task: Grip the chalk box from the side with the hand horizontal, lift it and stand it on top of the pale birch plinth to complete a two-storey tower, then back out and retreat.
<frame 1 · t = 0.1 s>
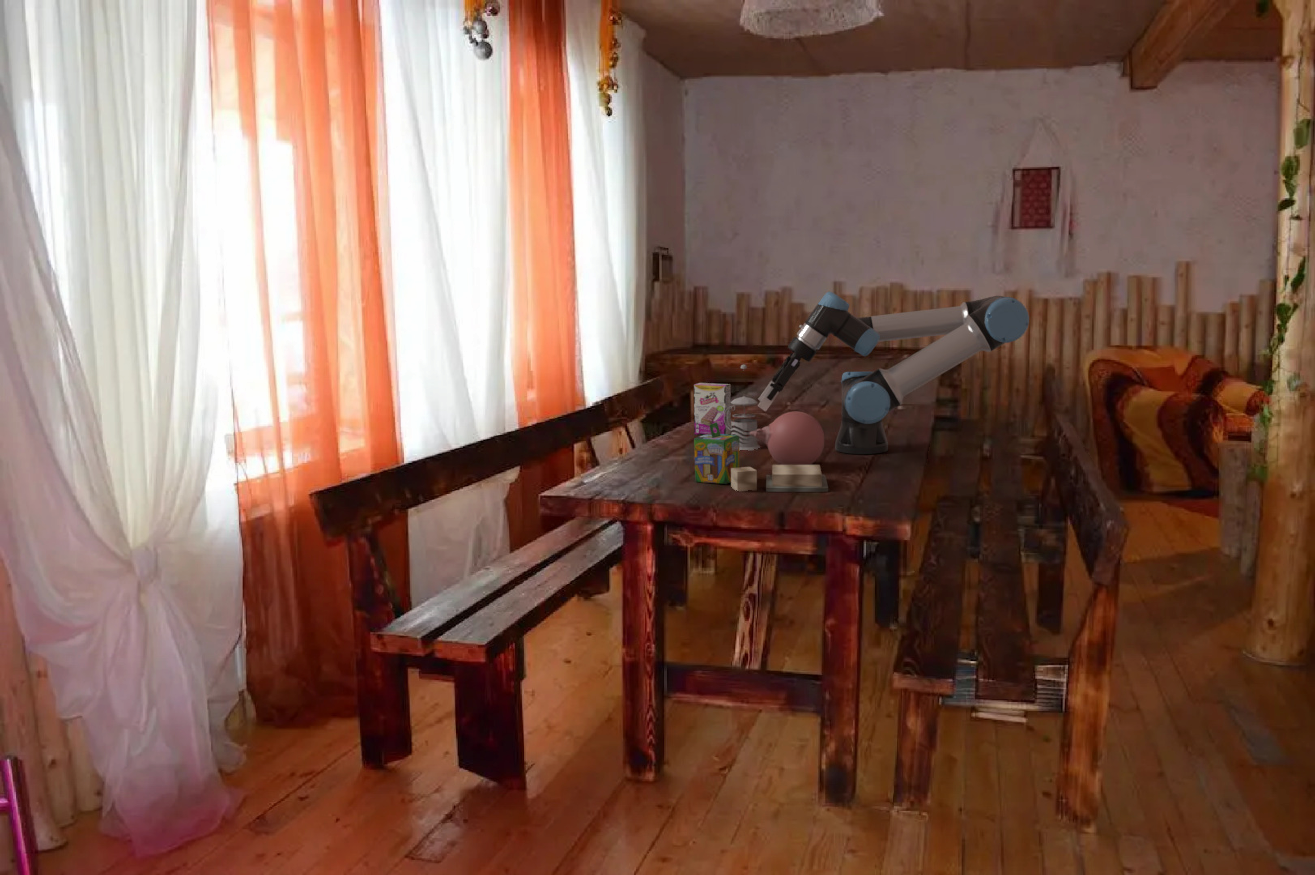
hand: (761, 405, 301), 15 cm above the table, tool tilted 35°, fingers open, 13 cm apart
french press: (741, 447, 322), on the table
plinth: (796, 485, 269), on the table
balloon: (787, 468, 290), on the table
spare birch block: (743, 489, 266), on the table
candy bar box: (712, 435, 346), on the table
chalk box: (717, 481, 277), on the table
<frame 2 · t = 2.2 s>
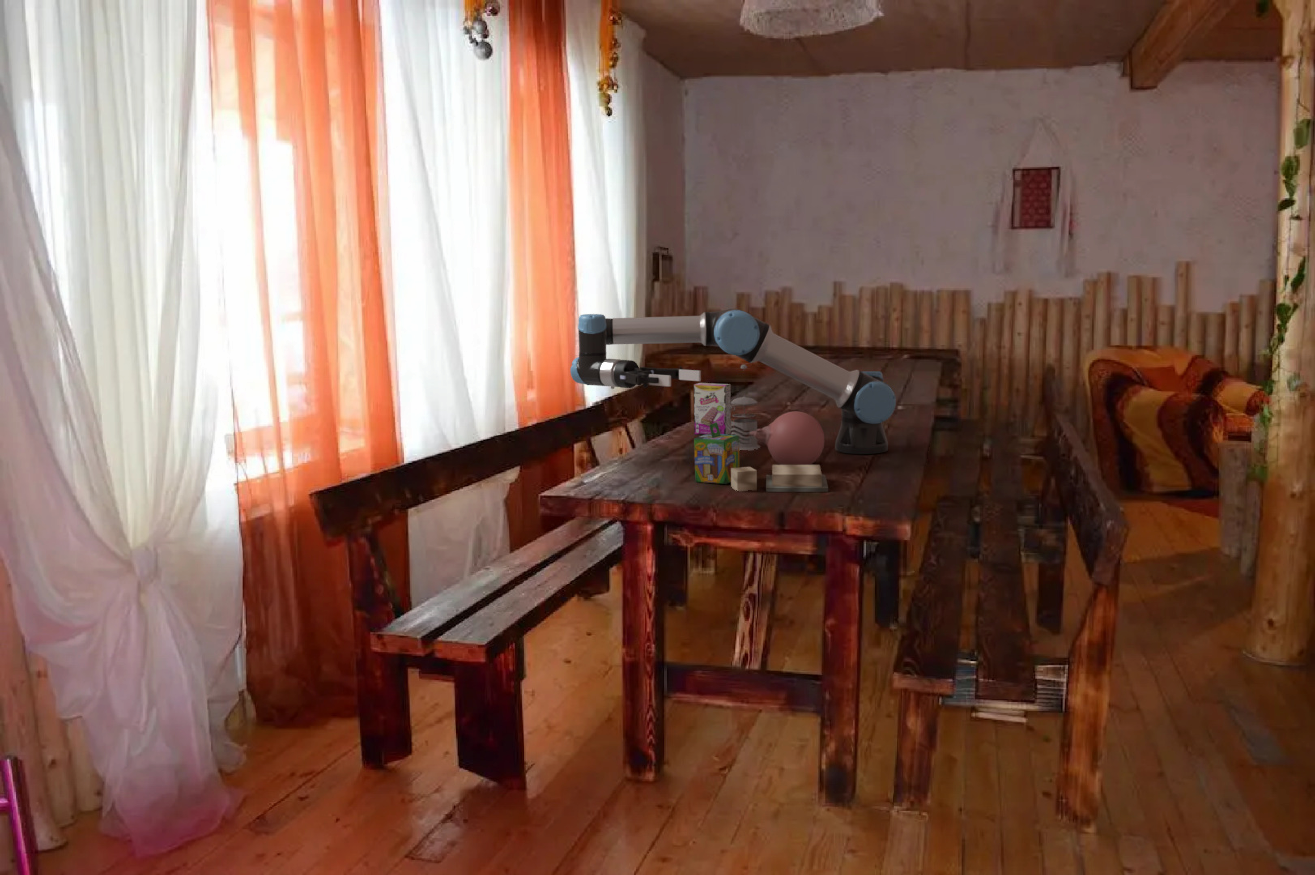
hand: (685, 378, 278), 26 cm above the table, tool horizontal, fingers open, 13 cm apart
nothing on the table moved.
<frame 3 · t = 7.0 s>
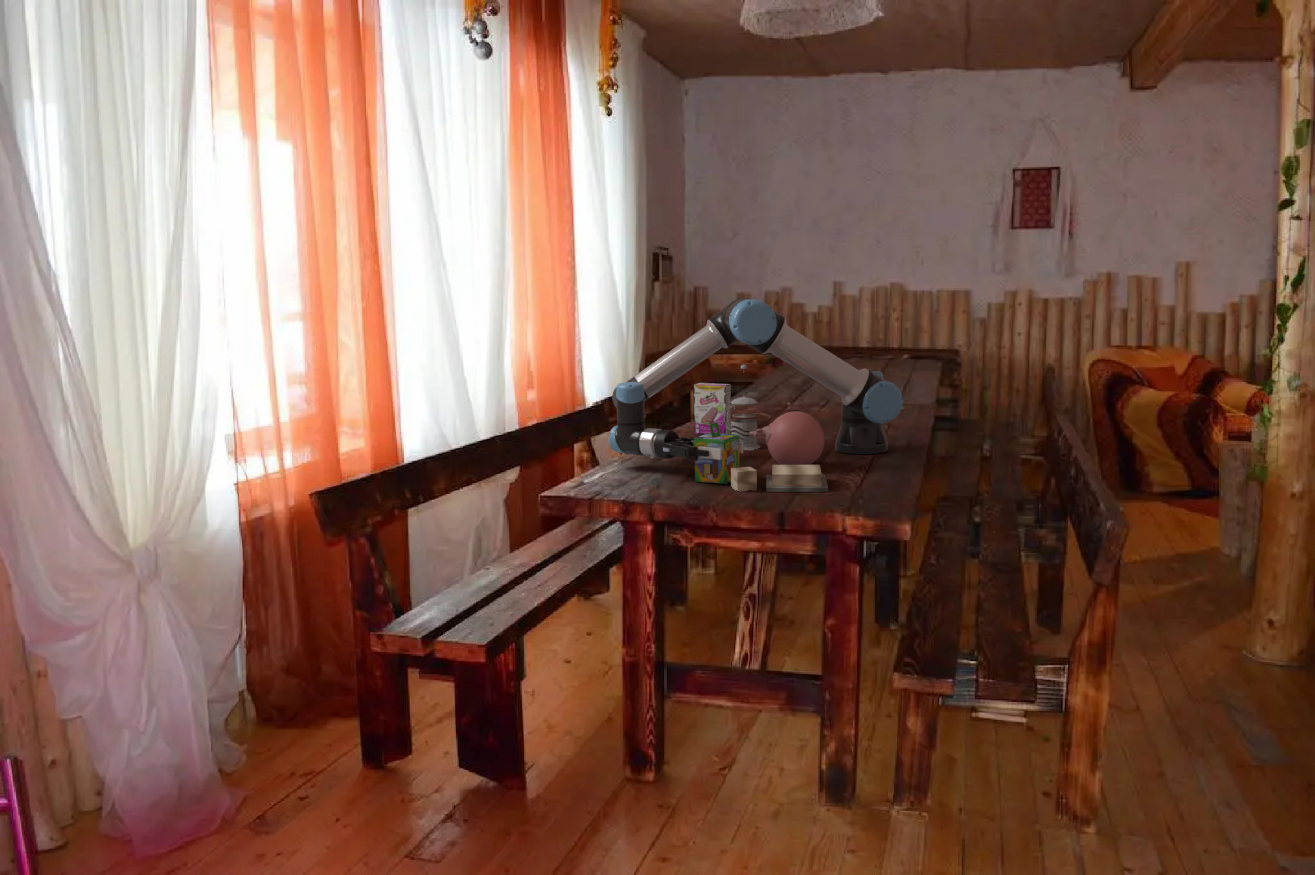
hand: (731, 450, 273), 8 cm above the table, tool horizontal, fingers closed on chalk box, 10 cm apart
chalk box: (717, 480, 277), on the table, touching gripper
everything else where it was.
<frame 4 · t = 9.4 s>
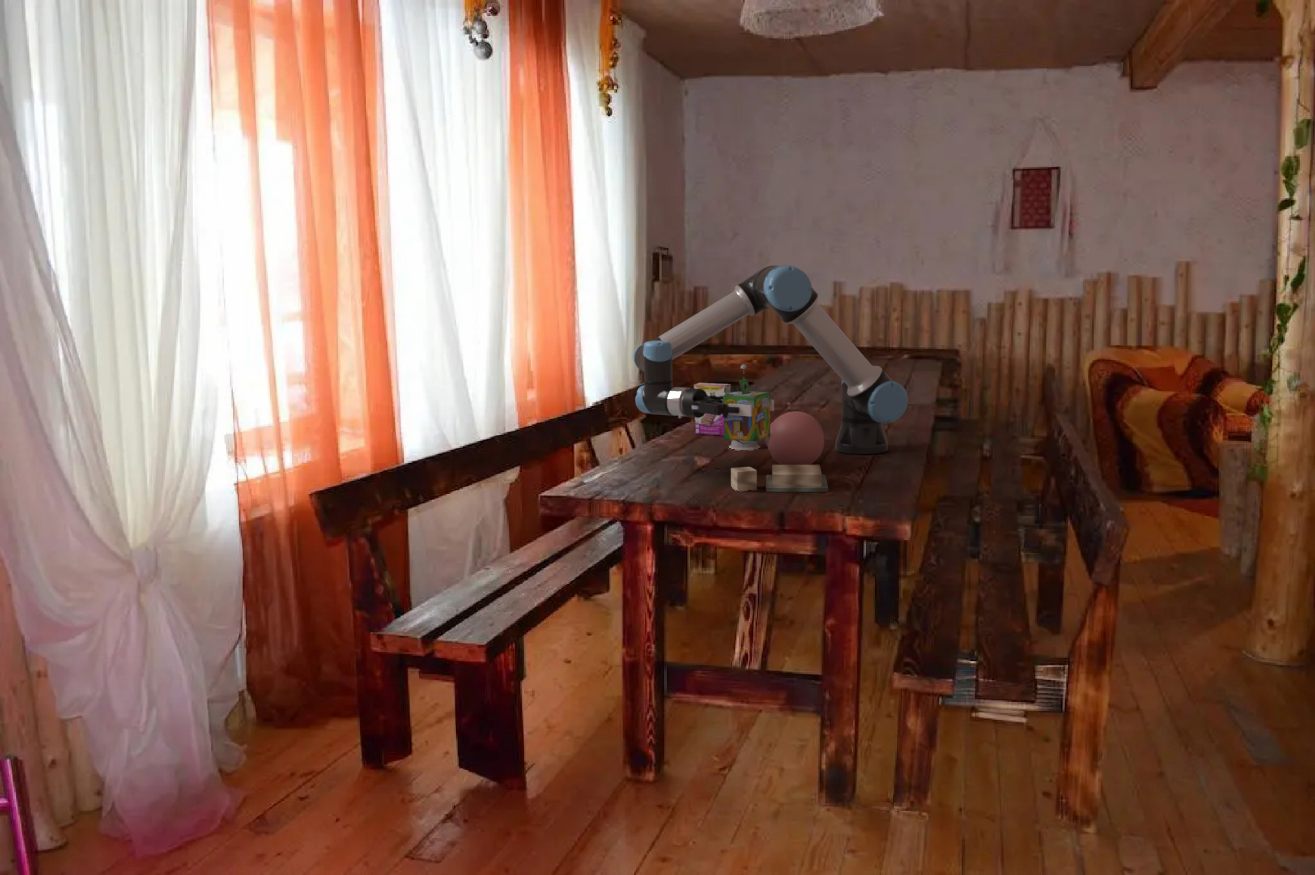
hand: (762, 408, 266), 20 cm above the table, tool horizontal, fingers closed on chalk box, 10 cm apart
chalk box: (747, 439, 270), point 11 cm above the table, touching gripper
everything else where it was.
when the fingers open (13 cm above the table, at t = 12.2 s): chalk box drops 1 cm, resting on plinth.
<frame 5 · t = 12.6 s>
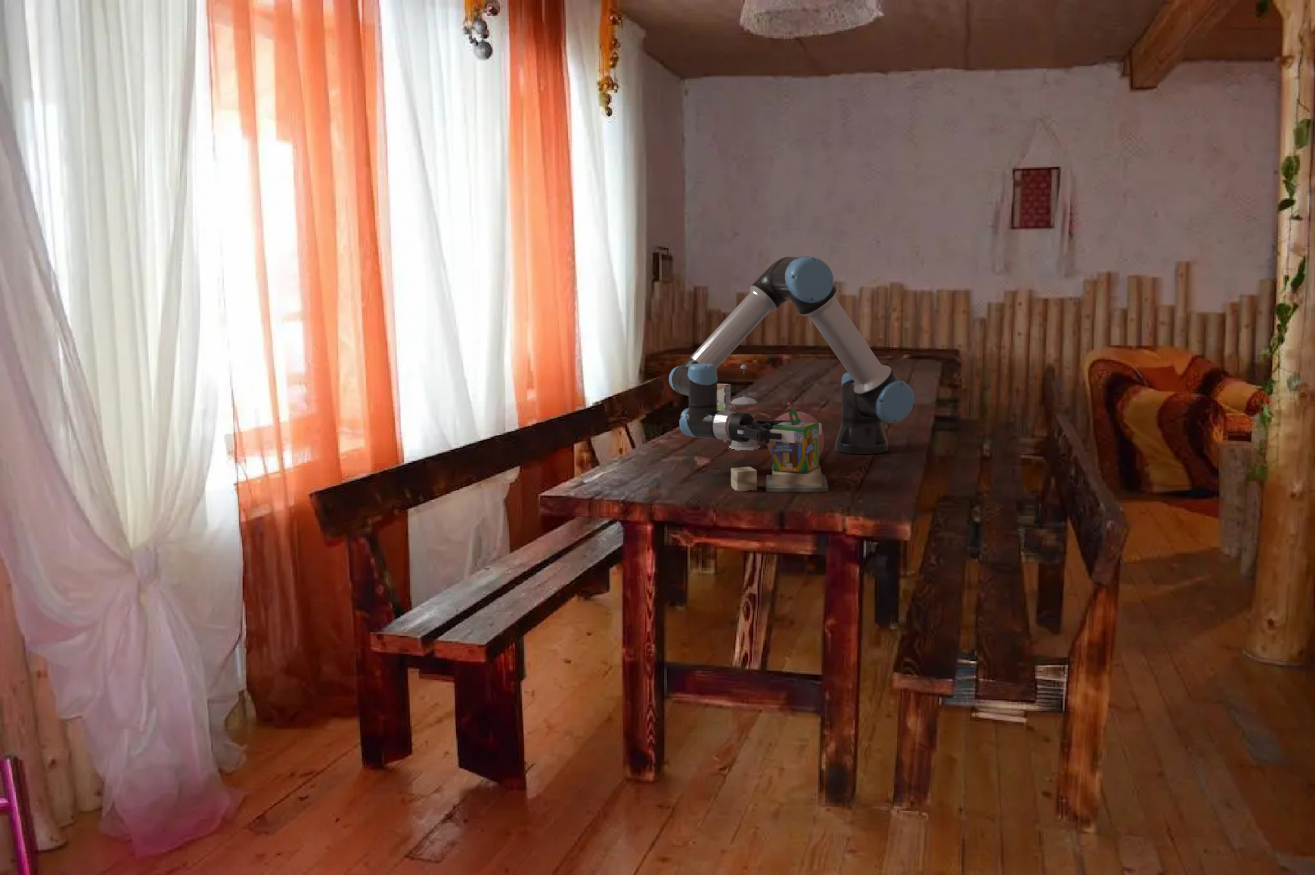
hand: (808, 433, 264), 14 cm above the table, tool horizontal, fingers open, 13 cm apart
chalk box: (796, 470, 268), point 4 cm above the table, touching plinth
everything else where it was.
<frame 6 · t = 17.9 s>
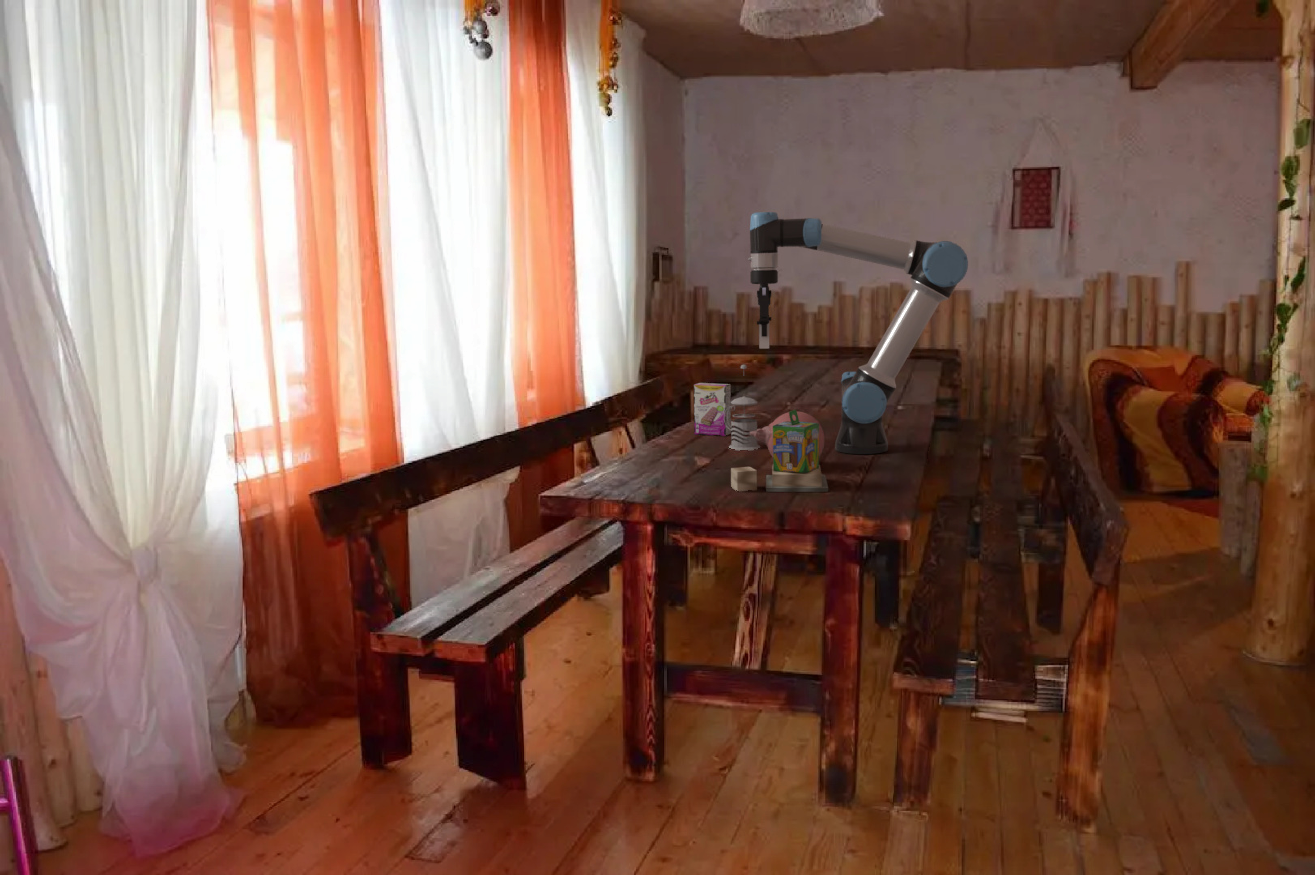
hand: (764, 346, 299), 32 cm above the table, tool pointing down, fingers open, 13 cm apart
nothing on the table moved.
at the end: chalk box inside the target area on the plinth (0.0 cm from its centre), point 3.8 cm above the plinth's base; chalk box tilted 0°; the gripper is holding nothing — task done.
